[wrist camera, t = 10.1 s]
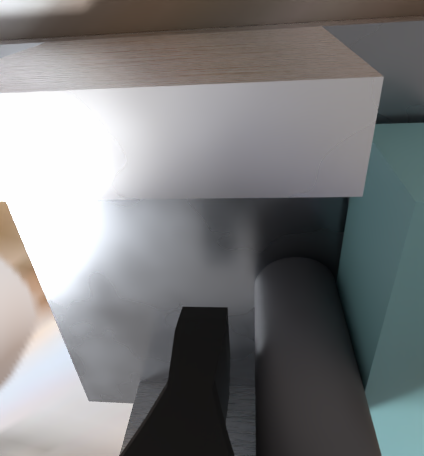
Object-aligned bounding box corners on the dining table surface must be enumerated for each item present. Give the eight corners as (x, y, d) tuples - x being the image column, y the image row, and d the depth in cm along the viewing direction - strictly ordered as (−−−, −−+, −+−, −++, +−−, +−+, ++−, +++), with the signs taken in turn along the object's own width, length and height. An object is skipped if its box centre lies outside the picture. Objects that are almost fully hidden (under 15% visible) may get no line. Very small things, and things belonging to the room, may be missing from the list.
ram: (375, 390, 14) (443, 622, 9) (254, 386, 14) (255, 603, 10) (455, 121, 8) (743, 336, 3) (254, 127, 9) (257, 325, 4)
